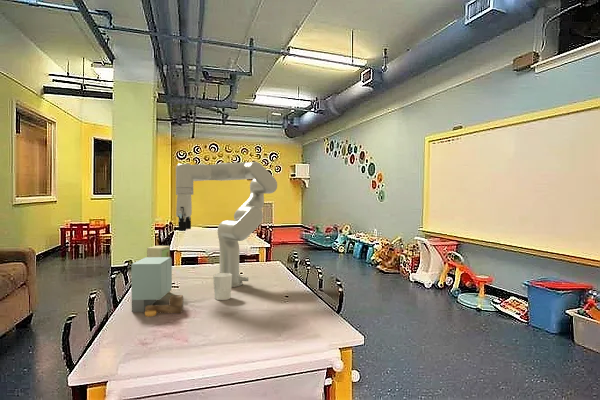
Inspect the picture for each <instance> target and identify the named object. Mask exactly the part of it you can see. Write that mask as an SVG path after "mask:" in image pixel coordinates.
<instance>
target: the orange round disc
mask: <svg viewBox="0 0 600 400" xmlns="http://www.w3.org/2000/svg"><path fill="white" fill-rule="evenodd" d="M156 316H157V313H156V310H148V311H144V317H147V318H151V317H156Z"/></svg>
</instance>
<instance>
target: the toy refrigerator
mask: <svg viewBox="0 0 600 400" xmlns="http://www.w3.org/2000/svg"><path fill="white" fill-rule="evenodd" d="M146 248H147V249H146V257H171V253H170V250H171V246H170V245H154V246H149V247H146ZM170 291H171V290H170ZM170 291H169V292H168V293H170Z"/></svg>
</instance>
